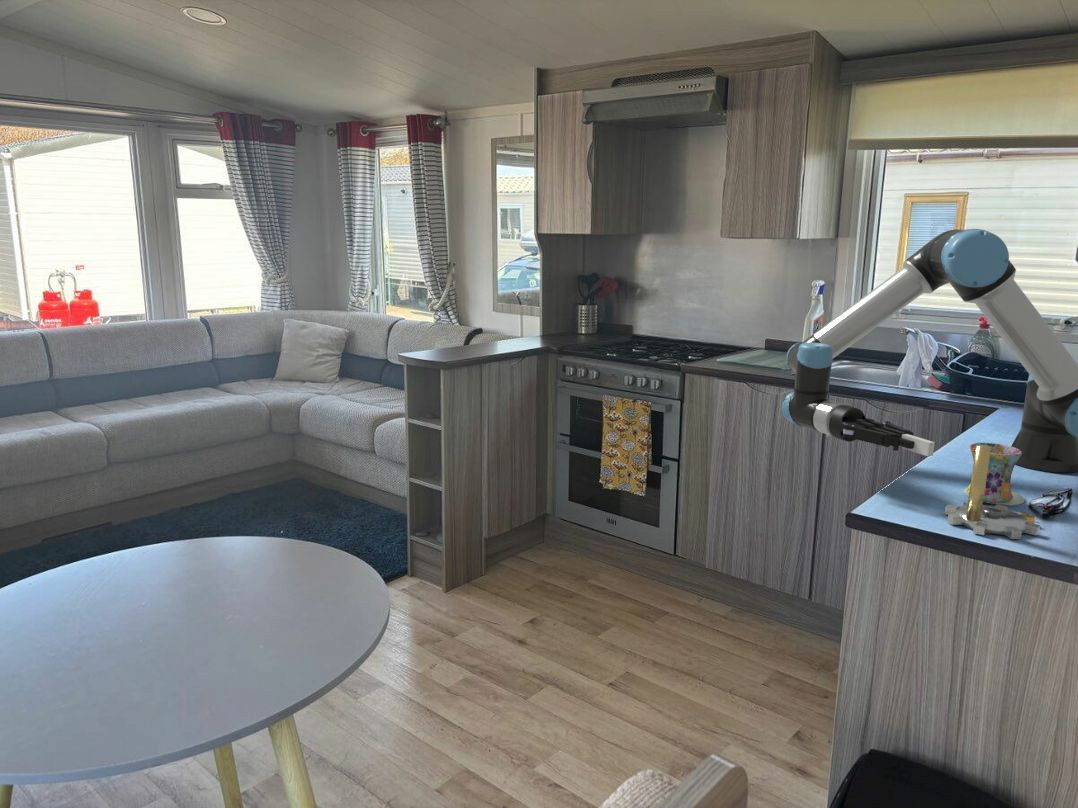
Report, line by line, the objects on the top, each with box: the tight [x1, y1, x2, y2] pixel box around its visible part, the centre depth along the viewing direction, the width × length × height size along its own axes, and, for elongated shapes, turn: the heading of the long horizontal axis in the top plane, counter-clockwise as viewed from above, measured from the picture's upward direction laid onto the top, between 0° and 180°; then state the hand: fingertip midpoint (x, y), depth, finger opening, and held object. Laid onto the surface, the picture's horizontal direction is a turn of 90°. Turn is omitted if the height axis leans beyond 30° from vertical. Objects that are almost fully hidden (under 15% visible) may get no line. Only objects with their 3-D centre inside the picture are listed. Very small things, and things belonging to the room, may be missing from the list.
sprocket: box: [944, 445, 1041, 540], centre depth 149 cm, size 15×15×16 cm
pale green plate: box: [963, 487, 1026, 506], centre depth 167 cm, size 11×11×1 cm
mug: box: [965, 442, 1022, 502], centre depth 165 cm, size 12×9×11 cm
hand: (931, 449), depth 155 cm, fingers closed
